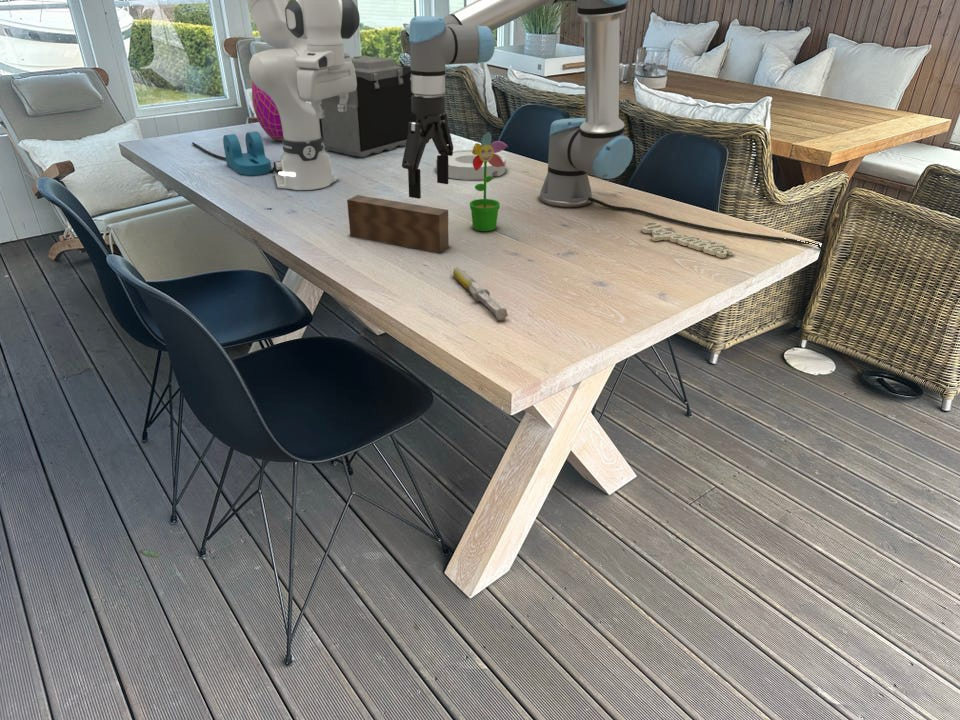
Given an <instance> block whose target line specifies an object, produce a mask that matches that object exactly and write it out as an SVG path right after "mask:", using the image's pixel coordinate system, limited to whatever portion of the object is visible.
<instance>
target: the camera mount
mask: <svg viewBox="0 0 960 720" xmlns="http://www.w3.org/2000/svg"><path fill="white" fill-rule="evenodd" d="M222 140H223V141H222V143H223V149H224V150H223V151H224V157H225V158H226V160H225V161H226V165H227V166H228V167H230V168H231V169H232V170H234V171H236V172H237V173H238V174H239V175H244V176H260V175H265V174H268V173H271V172H270V170H272V164H271V159H270V158H268V157H267V156H266V153H265V145H264V141H263V139H262V136H261V134H260V132H258V131H247V132H246V133H245V146H246V152H243V151H242V150H243V149H242V146H241V142H240V140H239V138H238V135H236V134H235V133H231V134H224V135H223V138H222Z"/></svg>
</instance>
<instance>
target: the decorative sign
mask: <svg viewBox="0 0 960 720" xmlns="http://www.w3.org/2000/svg"><path fill="white" fill-rule="evenodd" d="M673 229H674V228H673V226H669V225H668V226H662V225H661V223H660V222H656V221H648V222H647V225H645V226H642V230H641V232H642V233H643V234H651V235H652V239H651V240H652V241H654V242H659V241H668V242H671V243H677V244H678V245H681V246H684V247H688V248H689V249H694V250H696V251H702V252H703V253H705V254H708V255H711V256H715V257H717V258H721V259H725V258H727V256H732V255H733V250H732V249H729V248H726V243H716V240H703V241H702V240H701V239H700V237H697V236H696V235H691V234H688V233H685V234H681V233H680V234H679V233H678V232H674V231H673Z"/></svg>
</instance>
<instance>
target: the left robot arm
mask: <svg viewBox="0 0 960 720" xmlns="http://www.w3.org/2000/svg"><path fill="white" fill-rule="evenodd" d="M246 3H247V6H248V10H249V12H250V15H251V17H252V19H253V23H254V25H255V26H256V29H257V32H258V34H259V36H260V38H261V39H262V41H263V42H264V43H266V44H267V45H268V46H270V47H272V48H271V49H266V50H263V51H259V52H257V53H254V54H253V55H252V56H251V57H250V61H249V64H248V72H249V77H250V79H251V82H252V81H253V82H254V84H255V85H256V86H257V87H258V88H259V89H261V90H262V91H264V92H265V93H266V94H267V95H268V96H269V97H270V98H271V99H272V100H273V102H274V103H275V105H276V107H277V109H278V111H279V115H280V119H281V124H282V130H283V137H284V138H283V141H282V142H281V143H282V144H281V145H282V151H283V152H282V154H281V156H280V158H279V160H278V161H277V160H276V161H274V162H273V167H272V168H271V170H270V172H269V173H271V174H272V173H274V179H275V183H276V187H277V189H287V190H295V191H313V190H318V189H324V188H326V187H329V186H330V185H331V184H332V183H335V182H337V181H338V177H337V176H335V175H333V173H332V166H331V160H330V159H331V158H330V154H328V153H327V152H326V151H324V149H325V147H324V143H323V138H322V136H321V132H320V123H319V119H321V118H324V117H325V111H324V110H322V108H321V106H320V104H322V103H321V100H322V99H326V98H330V97H334V96H337V95H339V97H340V102H339V104H338V111H339V112H345V111H346V110H347V108H346V104H347V101H348V93H349V92H352V91H355V90H356V88H357V81H356V74H355V69H354V65H353V63H352V59H351V58H352V57H351V56H350V55H349V53H346V52H345V50H344V40H349V39H351V38H352V37H353V36H354V35H355V33H356V32H357V31H358V29H359V26H360V23H361V18H360V17H361V16H360V11H359V9H358V6H357V5H356V3H355V2H354V0H289V1H288V0H246ZM343 39H344V40H343ZM273 48H274V49H273ZM298 91H299V95H298ZM299 96H300V97H299ZM300 98H301V99H302V100H301V99H300ZM305 101H306V102H305ZM191 145H193V146H195V147H196V148H198V149H199V150H201V151H203V152H204V153H206V154H209V155H210V156H212V157H215V158H218V159H221V160H225V161H226V156H223V155H220V154H219V155H218V154H215V153H213V152H211V151H209V150H206V149H205V148H204V147H202V146H200V145H199V144H198V143H195V142H194V141H193V142H192V143H191Z"/></svg>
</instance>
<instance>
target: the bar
mask: <svg viewBox="0 0 960 720" xmlns="http://www.w3.org/2000/svg"><path fill="white" fill-rule="evenodd" d="M346 203H347V215H348V225H349V237H353V238H357V239H364V240H368V241H374V242H379V243H385V244H390V245H394V246H400V247H406V248H411V249H416V250H421V251H426V252H432V253H437V254H441V253H442V252H444V251H445V250H447V249H448V248H449V246H450V245H449V243H450V242H449V209H447V208H446V209H445V208H441V207H440V208H439V207H433V206H428V205H427V206H426V205H422V204H415V203H409V202H402V201H397V200H392V199H385V198H379V197H372V196H366V195H361V194H357V195H354V196H352V197H350V198H348V199H347V200H346Z"/></svg>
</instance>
